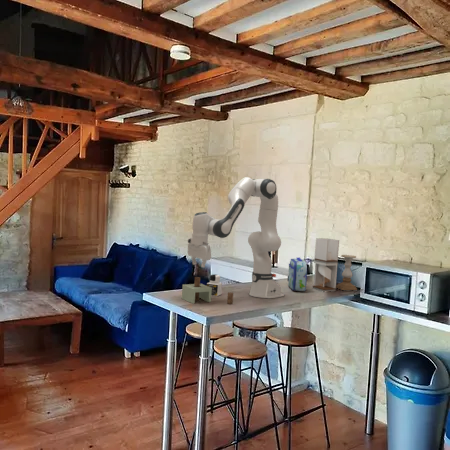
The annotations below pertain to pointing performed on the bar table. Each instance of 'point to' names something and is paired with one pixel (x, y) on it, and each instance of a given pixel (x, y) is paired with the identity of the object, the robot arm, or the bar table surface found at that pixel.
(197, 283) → the long pin
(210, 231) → the robot arm
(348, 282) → the candle holder
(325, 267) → the white stand
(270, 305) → the bar table surface
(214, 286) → the medicine bottle
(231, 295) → the short pin
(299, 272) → the lunch box
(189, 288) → the bridge
